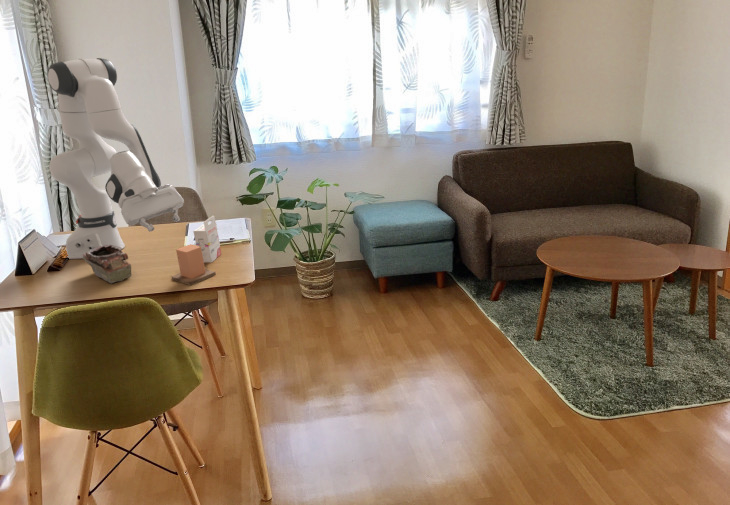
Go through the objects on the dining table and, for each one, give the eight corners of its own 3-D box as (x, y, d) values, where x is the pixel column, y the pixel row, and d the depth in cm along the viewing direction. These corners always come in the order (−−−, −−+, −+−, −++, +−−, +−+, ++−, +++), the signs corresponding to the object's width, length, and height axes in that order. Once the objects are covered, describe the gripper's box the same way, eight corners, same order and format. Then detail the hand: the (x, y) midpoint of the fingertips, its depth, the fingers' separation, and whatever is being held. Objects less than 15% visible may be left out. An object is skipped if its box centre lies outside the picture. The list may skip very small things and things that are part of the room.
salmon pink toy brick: (181, 275, 203) (176, 249, 200) (195, 269, 207) (190, 244, 204) (191, 278, 200) (186, 252, 197) (205, 272, 204) (200, 246, 201)
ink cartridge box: (209, 254, 225) (202, 214, 220) (221, 254, 223) (215, 214, 218) (198, 262, 217) (191, 222, 212) (211, 262, 216) (204, 222, 211)
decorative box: (94, 291, 199) (87, 262, 196) (76, 275, 214) (70, 249, 211) (134, 278, 207) (128, 251, 204) (115, 264, 222) (109, 238, 219)
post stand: (171, 279, 203) (167, 256, 201) (197, 269, 211) (193, 246, 208) (190, 285, 197) (185, 261, 195) (215, 274, 204) (211, 251, 202)
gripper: (169, 188, 216) (190, 220, 214) (113, 206, 203) (135, 240, 201) (173, 177, 211) (194, 210, 209) (116, 196, 199) (138, 230, 196)
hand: (165, 225), depth 205 cm, fingers open, 8 cm apart
